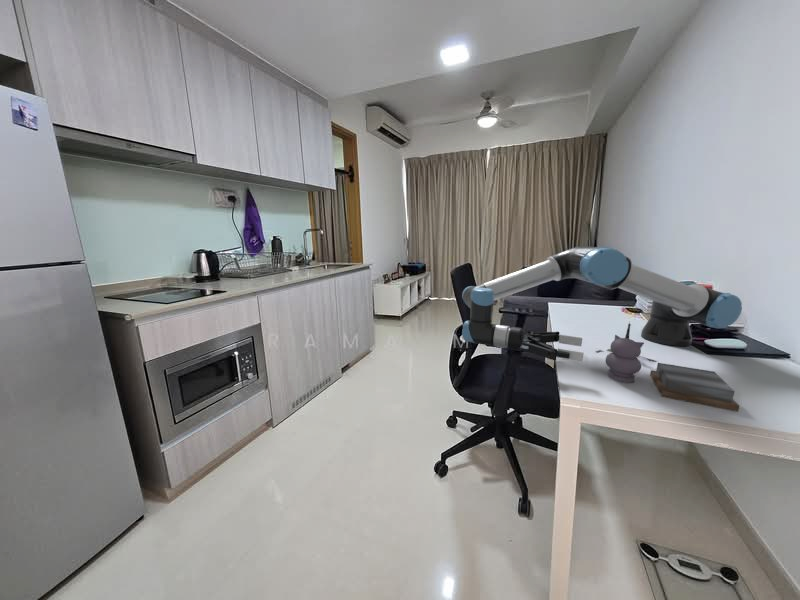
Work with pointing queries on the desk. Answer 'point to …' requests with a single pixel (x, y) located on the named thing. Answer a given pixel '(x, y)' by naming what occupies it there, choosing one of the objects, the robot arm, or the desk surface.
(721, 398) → the display plinth
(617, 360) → the cat figurine
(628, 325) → the eiffel tower figurine
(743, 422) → the desk surface
